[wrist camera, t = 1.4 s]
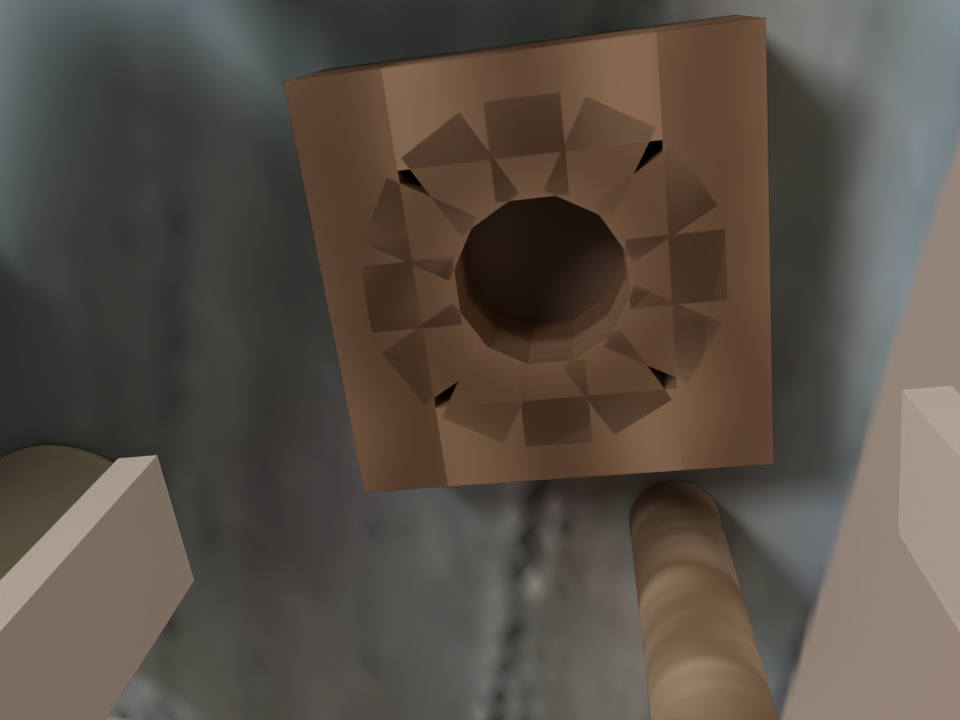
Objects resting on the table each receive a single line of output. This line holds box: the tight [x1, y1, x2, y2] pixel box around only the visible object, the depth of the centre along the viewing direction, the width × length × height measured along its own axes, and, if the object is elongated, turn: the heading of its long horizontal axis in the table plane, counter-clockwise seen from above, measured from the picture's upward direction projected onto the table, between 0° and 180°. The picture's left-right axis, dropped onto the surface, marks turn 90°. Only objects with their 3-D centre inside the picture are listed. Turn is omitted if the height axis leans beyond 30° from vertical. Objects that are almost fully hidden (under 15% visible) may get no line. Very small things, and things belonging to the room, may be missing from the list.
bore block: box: [284, 15, 773, 492], centre depth 31 cm, size 14×14×5 cm
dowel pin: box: [629, 481, 778, 720], centre depth 32 cm, size 4×4×12 cm
